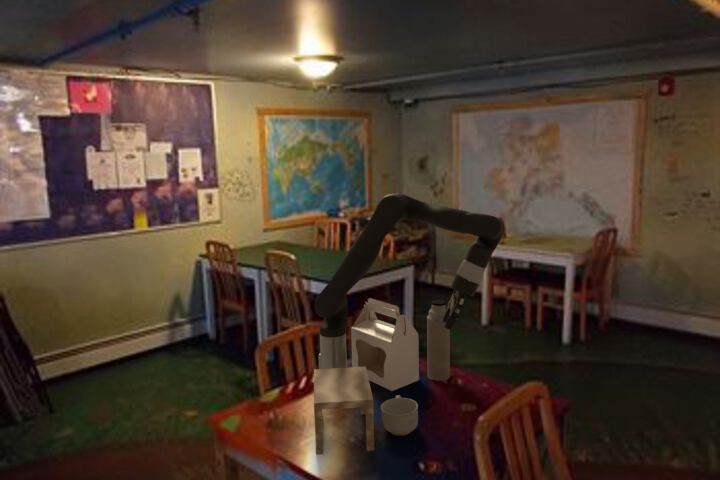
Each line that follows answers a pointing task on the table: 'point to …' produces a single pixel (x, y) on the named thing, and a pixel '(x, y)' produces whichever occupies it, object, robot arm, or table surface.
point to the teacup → (400, 415)
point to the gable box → (385, 346)
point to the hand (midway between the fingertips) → (446, 325)
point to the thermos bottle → (438, 343)
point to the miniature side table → (342, 398)
